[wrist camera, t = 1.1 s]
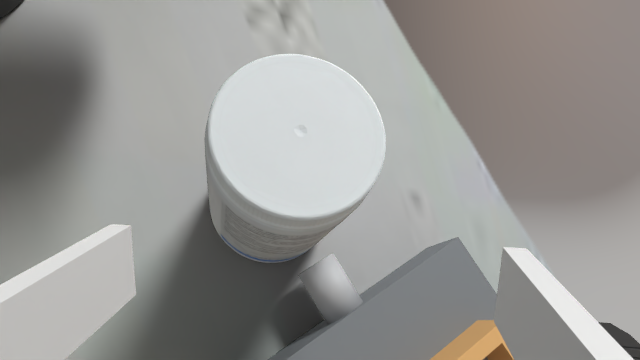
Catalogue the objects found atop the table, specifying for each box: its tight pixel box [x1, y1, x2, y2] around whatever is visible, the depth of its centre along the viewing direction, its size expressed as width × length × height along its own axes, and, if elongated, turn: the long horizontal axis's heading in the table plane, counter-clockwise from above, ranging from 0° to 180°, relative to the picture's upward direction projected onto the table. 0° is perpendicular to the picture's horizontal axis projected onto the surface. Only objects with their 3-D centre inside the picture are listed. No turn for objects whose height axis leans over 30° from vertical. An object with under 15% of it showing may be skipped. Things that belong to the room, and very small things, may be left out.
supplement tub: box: [205, 54, 386, 263], centre depth 29 cm, size 10×10×15 cm
